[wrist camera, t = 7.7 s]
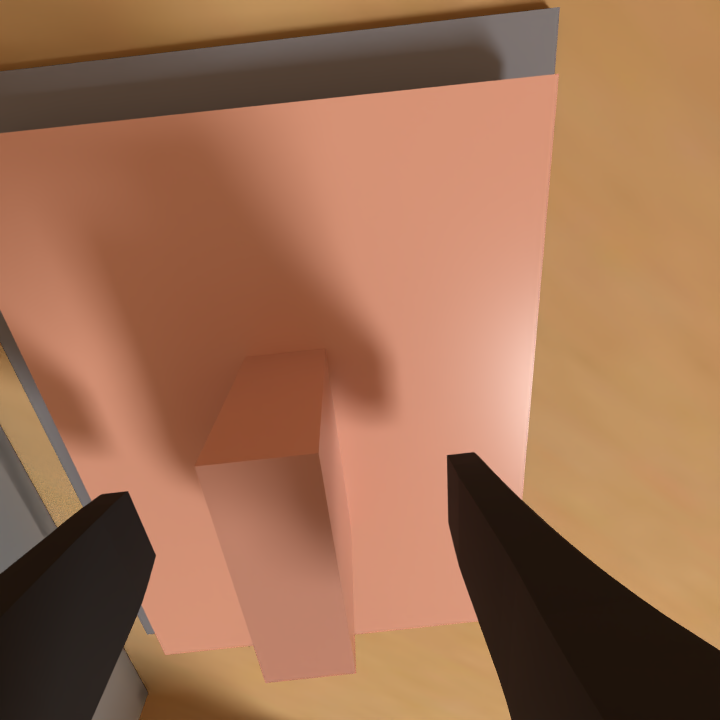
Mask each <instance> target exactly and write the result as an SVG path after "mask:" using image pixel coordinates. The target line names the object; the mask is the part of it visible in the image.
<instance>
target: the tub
mask: <svg viewBox="0 0 720 720" xmlns="http://www.w3.org/2000/svg"><path fill="white" fill-rule="evenodd" d="M55 529H57V527H56V525H55V524H54V522H53V520H52V518H51V516H50V514H49V513H48V511H47V509H46V507H45V505H44V504H43V502H42V500H41V498H40V496H39V495H38V493H37V491H36V489H35V487H34V486H33V484H32V482H31V480H30V478H29V476H28V475H27V473H26V471H25V469H24V467H23V466H22V464H21V462H20V460H19V458H18V457H17V455H16V453H15V451H14V449H13V448H12V446H11V444H10V442H9V440H8V439H7V437H6V435H5V433H4V431H3V429H2V428H1V426H0V574H1V573H2V572H3V571H4V570H6V569H7V568H8V567H9V566H11V565H12V564H13V563H14V562H16V561H17V560H18V559H19V558H21V557H22V556H23V555H24V554H26V553H27V552H28V551H29V550H31V549H32V548H33V547H34V546H35V545H37V544H38V543H39V542H40V541H42V540H43V539H44V538H45V537H47V536H48V535H49V534H50V533H52V532H53V531H54V530H55ZM147 695H148V692H147V690H146V688H145V686H144V684H143V683H142V681H141V679H140V677H139V675H138V674H137V672H136V670H135V668H134V666H133V665H132V663H131V661H130V659H129V657H128V656H127V654H126V652H125V650H124V648H123V649H122V652H121V654H120V656H119V658H118V661H117V663H116V665H115V667H114V670H113V672H112V674H111V677H110V679H109V681H108V683H107V686H106V688H105V690H104V693H103V695H102V697H101V700H100V702H99V704H98V706H97V709H96V711H95V713H94V716H93V718H92V720H139V718H140V715H141V712H142V709H143V706H144V704H145V701H146V698H147Z"/></svg>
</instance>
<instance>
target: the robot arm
mask: <svg viewBox="0 0 720 720" xmlns="http://www.w3.org/2000/svg"><path fill="white" fill-rule="evenodd" d="M447 489H448V524H449V528H450V532H451V537H452V541H453V545H454V549H455V553H456V557H457V561H458V565H459V568H460V571H461V574H462V577H463V580H464V582H465V585H466V588H467V591H468V594H469V596H470V599H471V602H472V605H473V608H474V610H475V613H476V616H477V619H478V621H479V624H480V627H481V630H482V632H483V635H484V638H485V641H486V643H487V646H488V649H489V652H490V654H491V657H492V660H493V663H494V666H495V668H496V671H497V674H498V677H499V680H500V683H501V686H502V689H503V692H504V695H505V698H506V702H507V705H508V709H509V712H510V716H511V720H720V650H718V649H717V648H715V647H714V646H712V645H710V644H709V643H707V642H706V641H704V640H703V639H701V638H700V637H698V636H696V635H695V634H693V633H692V632H690V631H689V630H687V629H686V628H684V627H682V626H681V625H679V624H678V623H676V622H675V621H673V620H672V619H670V618H668V617H667V616H665V615H664V614H663V613H661V612H660V611H658V610H657V609H655V608H654V607H652V606H651V605H650V604H648V603H647V602H645V601H644V600H642V599H641V598H640V597H638V596H637V595H635V594H634V593H633V592H631V591H630V590H629V589H627V588H626V587H625V586H623V585H622V584H621V583H619V582H618V581H617V580H615V579H614V578H612V577H611V576H610V575H609V574H607V573H606V572H605V571H603V570H602V569H601V568H600V567H598V566H597V565H596V564H595V563H593V562H592V561H591V560H590V559H588V558H587V557H586V556H585V555H583V554H582V553H581V552H580V551H579V550H577V549H576V548H575V547H574V546H573V545H571V544H570V543H569V542H568V541H567V540H565V539H564V538H563V537H562V536H561V535H560V534H559V533H557V532H556V531H555V530H554V529H553V528H552V527H551V526H549V525H548V524H547V523H546V522H545V521H544V520H543V519H542V518H541V517H540V516H539V515H537V514H536V513H535V512H534V511H533V510H532V509H531V508H530V507H529V506H528V505H527V504H526V503H524V502H523V501H522V500H521V499H520V498H519V497H518V496H517V495H516V494H515V493H514V492H513V491H512V490H511V489H510V488H509V487H508V486H507V485H506V484H505V483H504V482H503V481H502V480H501V479H500V478H499V477H498V476H497V475H496V474H495V473H494V472H493V471H492V469H491V468H490V467H489V466H488V465H487V464H486V463H485V462H484V461H483V460H482V459H481V458H480V457H479V456H478V455H477V454H476V453H474V452H470V453H461V454H452V455H447ZM155 558H156V554H155V552H154V550H153V547H152V545H151V543H150V540H149V538H148V536H147V533H146V531H145V529H144V527H143V524H142V522H141V520H140V517H139V515H138V513H137V510H136V508H135V506H134V504H133V501H132V499H131V497H130V494H129V492H128V491H124V492H116V493H107V494H101V495H99V496H98V497H97V498H95V499H94V500H92V501H91V502H90V503H88V504H87V505H86V506H84V507H83V508H82V509H80V510H79V511H78V512H77V513H75V514H74V515H73V516H71V517H70V518H69V519H68V520H66V521H65V522H64V523H63V524H61V525H60V526H59V527H58V528H57V529H55V530H54V531H53V532H52V533H50V534H49V535H48V536H47V537H45V538H44V539H43V540H42V541H40V542H39V543H38V544H37V545H35V546H34V547H33V548H32V549H31V550H29V551H28V552H27V553H26V554H24V555H23V556H22V557H21V558H19V559H18V560H17V561H16V562H14V563H13V564H12V565H11V566H9V567H8V568H7V569H6V570H4V571H3V572H2V573H1V574H0V720H92V718H93V716H94V713H95V711H96V709H97V706H98V704H99V702H100V700H101V697H102V695H103V693H104V690H105V688H106V686H107V683H108V681H109V679H110V677H111V674H112V672H113V670H114V667H115V665H116V663H117V661H118V658H119V656H120V654H121V652H122V649H123V647H124V645H125V642H126V640H127V638H128V635H129V633H130V631H131V628H132V626H133V624H134V621H135V619H136V617H137V614H138V612H139V609H140V607H141V605H142V602H143V599H144V596H145V592H146V589H147V586H148V583H149V580H150V576H151V572H152V569H153V565H154V561H155Z"/></svg>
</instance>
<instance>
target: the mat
mask: <svg viewBox="0 0 720 720" xmlns="http://www.w3.org/2000/svg"><path fill="white" fill-rule="evenodd" d="M559 9H560V7H557V8H549V9H540V10H531V11H523V12H514V13H505V14H496V15H488V16H479V17H470V18H462V19H453V20H444V21H435V22H427V23H418V24H409V25H401V26H392V27H383V28H374V29H366V30H357V31H348V32H340V33H331V34H322V35H314V36H305V37H296V38H287V39H279V40H270V41H261V42H253V43H244V44H235V45H226V46H218V47H209V48H200V49H192V50H183V51H174V52H165V53H157V54H148V55H139V56H131V57H122V58H113V59H105V60H96V61H87V62H78V63H70V64H61V65H52V66H44V67H35V68H26V69H17V70H9V71H0V133H7V132H17V131H26V130H35V129H45V128H54V127H64V126H73V125H82V124H92V123H101V122H111V121H120V120H129V119H139V118H148V117H157V116H167V115H176V114H186V113H195V112H204V111H214V110H223V109H233V108H242V107H251V106H261V105H270V104H280V103H289V102H298V101H308V100H317V99H327V98H336V97H345V96H355V95H364V94H374V93H383V92H392V91H402V90H411V89H421V88H430V87H439V86H449V85H458V84H467V83H477V82H486V81H496V80H505V79H514V78H524V77H533V76H543V75H552V74H555V61H556V48H557V35H558V22H559ZM0 343H1V345H2V347H3V349H4V351H5V353H6V355H7V357H8V359H9V361H10V363H11V365H12V367H13V369H14V371H15V373H16V375H17V377H18V379H19V381H20V382H21V384H22V386H23V388H24V390H25V392H26V394H27V396H28V398H29V400H30V402H31V404H32V406H33V408H34V410H35V412H36V414H37V416H38V418H39V420H40V422H41V424H42V426H43V428H44V430H45V432H46V434H47V436H48V438H49V440H50V442H51V444H52V446H53V448H54V450H55V452H56V454H57V456H58V458H59V460H60V462H61V464H62V466H63V468H64V470H65V472H66V474H67V476H68V478H69V480H70V482H71V484H72V486H73V488H74V490H75V492H76V494H77V496H78V498H79V500H80V502H81V504H82V506H83V507H84V506H86V505H87V504H88V503H90V502H91V498H90V496H89V494H88V492H87V490H86V488H85V486H84V484H83V482H82V480H81V478H80V475H79V473H78V471H77V469H76V467H75V465H74V463H73V461H72V459H71V457H70V455H69V452H68V450H67V448H66V446H65V444H64V442H63V440H62V438H61V436H60V434H59V432H58V429H57V427H56V425H55V423H54V421H53V419H52V417H51V415H50V413H49V411H48V409H47V406H46V404H45V402H44V400H43V398H42V396H41V394H40V392H39V390H38V388H37V386H36V383H35V381H34V379H33V377H32V375H31V373H30V371H29V369H28V367H27V365H26V363H25V360H24V358H23V356H22V354H21V352H20V350H19V348H18V346H17V344H16V342H15V340H14V337H13V335H12V333H11V331H10V329H9V327H8V325H7V323H6V321H5V319H4V317H3V315H2V312H1V310H0ZM137 615H138V617H139V619H140V621H141V623H142V625H143V627H144V629H145V631H146V633H147V634H155V632H154V630H153V628H152V626H151V624H150V622H149V620H148V618H147V616H146V613H145V611H144V609H143V607H142V605H141V607H140V609H139V612H138V614H137Z"/></svg>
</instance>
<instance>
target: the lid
mask: <svg viewBox="0 0 720 720" xmlns="http://www.w3.org/2000/svg"><path fill="white" fill-rule="evenodd" d="M558 78H559V74H552V75H543V76H533V77H524V78H514V79H505V80H496V81H486V82H477V83H467V84H458V85H449V86H439V87H430V88H421V89H411V90H402V91H392V92H383V93H374V94H364V95H355V96H345V97H336V98H327V99H317V100H308V101H298V102H289V103H280V104H270V105H261V106H251V107H242V108H233V109H223V110H214V111H204V112H195V113H186V114H176V115H167V116H157V117H148V118H139V119H129V120H120V121H111V122H101V123H92V124H82V125H73V126H64V127H54V128H45V129H35V130H26V131H17V132H7V133H0V310H1V312H2V315H3V317H4V319H5V321H6V323H7V325H8V327H9V329H10V331H11V333H12V335H13V337H14V340H15V342H16V344H17V346H18V348H19V350H20V352H21V354H22V356H23V358H24V360H25V363H26V365H27V367H28V369H29V371H30V373H31V375H32V377H33V379H34V381H35V383H36V386H37V388H38V390H39V392H40V394H41V396H42V398H43V400H44V402H45V404H46V406H47V409H48V411H49V413H50V415H51V417H52V419H53V421H54V423H55V425H56V427H57V429H58V432H59V434H60V436H61V438H62V440H63V442H64V444H65V446H66V448H67V450H68V452H69V455H70V457H71V459H72V461H73V463H74V465H75V467H76V469H77V471H78V473H79V475H80V478H81V480H82V482H83V484H84V486H85V488H86V490H87V492H88V494H89V496H90V498H91V501H92V500H94V499H95V498H97V497H98V496H99V495H101V494H107V493H116V492H124V491H128V492H129V494H130V497H131V499H132V501H133V504H134V506H135V508H136V510H137V513H138V515H139V517H140V520H141V522H142V524H143V527H144V529H145V531H146V533H147V536H148V538H149V540H150V543H151V545H152V547H153V550H154V552H155V554H156V558H155V561H154V565H153V569H152V572H151V576H150V580H149V583H148V586H147V589H146V592H145V596H144V599H143V602H142V607H143V609H144V611H145V613H146V616H147V618H148V620H149V622H150V624H151V626H152V628H153V630H154V632H155V634H156V636H157V639H158V641H159V643H160V645H161V647H162V649H163V651H164V653H165V655H169V654H178V653H188V652H197V651H206V650H215V649H225V648H234V647H243V646H254V649H255V652H256V655H257V658H258V661H259V664H260V667H261V671H262V674H263V677H264V680H265V683H270V682H279V681H288V680H298V679H307V678H316V677H325V676H335V675H344V674H353V673H356V659H355V634H364V633H373V632H382V631H392V630H401V629H410V628H419V627H429V626H438V625H447V624H456V623H466V622H475V621H478V619H477V616H476V613H475V610H474V608H473V605H472V602H471V599H470V596H469V594H468V591H467V588H466V585H465V582H464V580H463V577H462V574H461V571H460V568H459V565H458V561H457V557H456V553H455V549H454V545H453V541H452V537H451V532H450V528H449V524H448V489H447V455H452V454H461V453H470V452H474V453H476V454H477V455H478V456H479V457H480V458H481V459H482V460H483V461H484V462H485V463H486V464H487V465H488V466H489V467H490V468H491V469H492V471H493V472H494V473H495V474H496V475H497V476H498V477H499V478H500V479H501V480H502V481H503V482H504V483H505V484H506V485H507V486H508V487H509V488H510V489H511V490H512V491H513V492H514V493H515V494H516V495H517V496H518V497H519V498H520V499H521V500H522V495H523V484H524V472H525V461H526V449H527V437H528V426H529V414H530V403H531V391H532V379H533V368H534V356H535V345H536V333H537V321H538V310H539V298H540V287H541V275H542V263H543V252H544V240H545V229H546V217H547V205H548V194H549V182H550V171H551V159H552V147H553V136H554V124H555V113H556V101H557V89H558Z"/></svg>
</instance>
